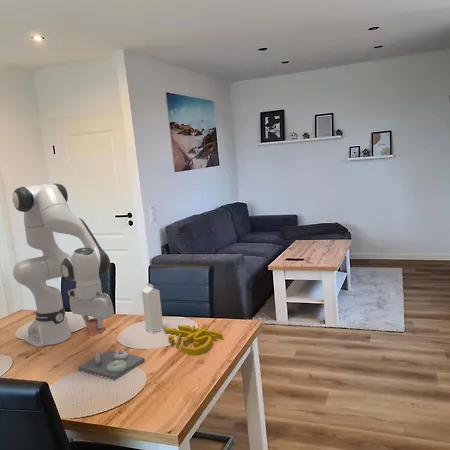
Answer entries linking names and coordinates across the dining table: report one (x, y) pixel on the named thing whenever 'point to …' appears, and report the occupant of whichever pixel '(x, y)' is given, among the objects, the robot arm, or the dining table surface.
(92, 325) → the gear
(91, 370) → the carrier
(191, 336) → the decorative art
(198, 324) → the dining table surface
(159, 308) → the milk
